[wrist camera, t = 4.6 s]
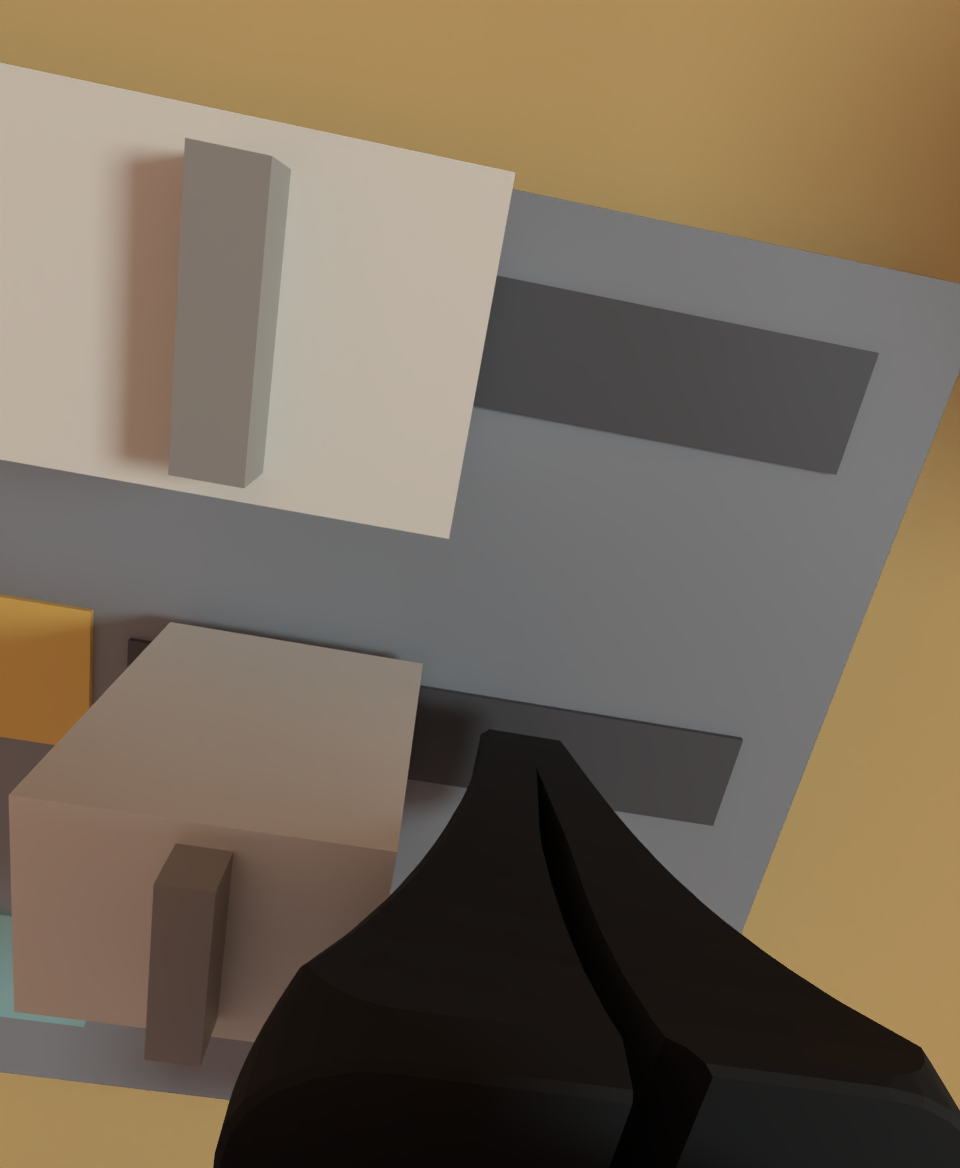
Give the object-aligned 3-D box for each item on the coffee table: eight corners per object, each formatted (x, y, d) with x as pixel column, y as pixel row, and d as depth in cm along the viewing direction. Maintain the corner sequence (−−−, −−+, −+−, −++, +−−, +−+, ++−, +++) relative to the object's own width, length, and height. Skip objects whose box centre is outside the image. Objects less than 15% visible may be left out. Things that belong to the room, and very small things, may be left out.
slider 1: (457, 448, 11) (446, 559, 6) (178, 396, 11) (-51, 472, 6) (497, 224, 10) (520, 159, 5) (191, 161, 10) (-72, 32, 5)
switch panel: (644, 1098, 18) (657, 1156, 17) (-61, 1009, 17) (-103, 1064, 16) (942, 290, 12) (995, 289, 11) (-128, 66, 11) (-204, 36, 10)
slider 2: (395, 817, 13) (352, 1105, 9) (161, 782, 13) (-17, 1060, 8) (423, 663, 12) (392, 892, 8) (170, 621, 12) (-27, 833, 7)
